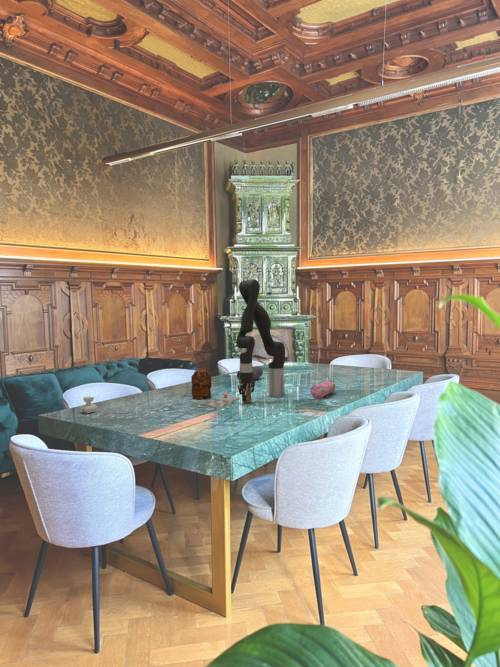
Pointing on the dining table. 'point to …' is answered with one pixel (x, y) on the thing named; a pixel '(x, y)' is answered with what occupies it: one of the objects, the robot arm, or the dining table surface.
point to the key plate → (229, 397)
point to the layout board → (216, 403)
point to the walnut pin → (247, 397)
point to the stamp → (88, 405)
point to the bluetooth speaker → (256, 373)
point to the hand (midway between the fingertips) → (246, 400)
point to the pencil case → (323, 389)
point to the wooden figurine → (201, 384)
